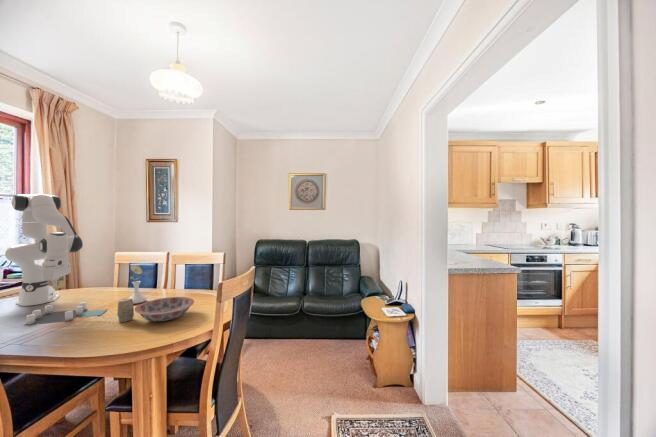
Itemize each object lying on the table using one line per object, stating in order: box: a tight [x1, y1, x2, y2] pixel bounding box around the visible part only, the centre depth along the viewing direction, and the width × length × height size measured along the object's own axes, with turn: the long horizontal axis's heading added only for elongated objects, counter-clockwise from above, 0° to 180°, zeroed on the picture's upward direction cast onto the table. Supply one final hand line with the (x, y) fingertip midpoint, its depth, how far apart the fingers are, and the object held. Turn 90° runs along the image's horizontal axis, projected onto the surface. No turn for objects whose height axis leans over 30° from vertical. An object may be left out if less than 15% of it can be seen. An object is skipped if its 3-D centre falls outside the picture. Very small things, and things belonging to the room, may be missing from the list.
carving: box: [116, 297, 135, 323], centre depth 154 cm, size 6×8×12 cm
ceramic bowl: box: [134, 296, 195, 322], centre depth 158 cm, size 29×29×8 cm
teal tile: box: [78, 309, 108, 318], centre depth 163 cm, size 10×10×1 cm
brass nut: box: [51, 278, 65, 289], centre depth 158 cm, size 5×5×4 cm
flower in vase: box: [128, 264, 147, 305], centre depth 185 cm, size 13×11×25 cm
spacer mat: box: [23, 301, 89, 327], centre depth 158 cm, size 20×22×5 cm
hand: (58, 284), depth 158 cm, fingers closed on brass nut, 5 cm apart
